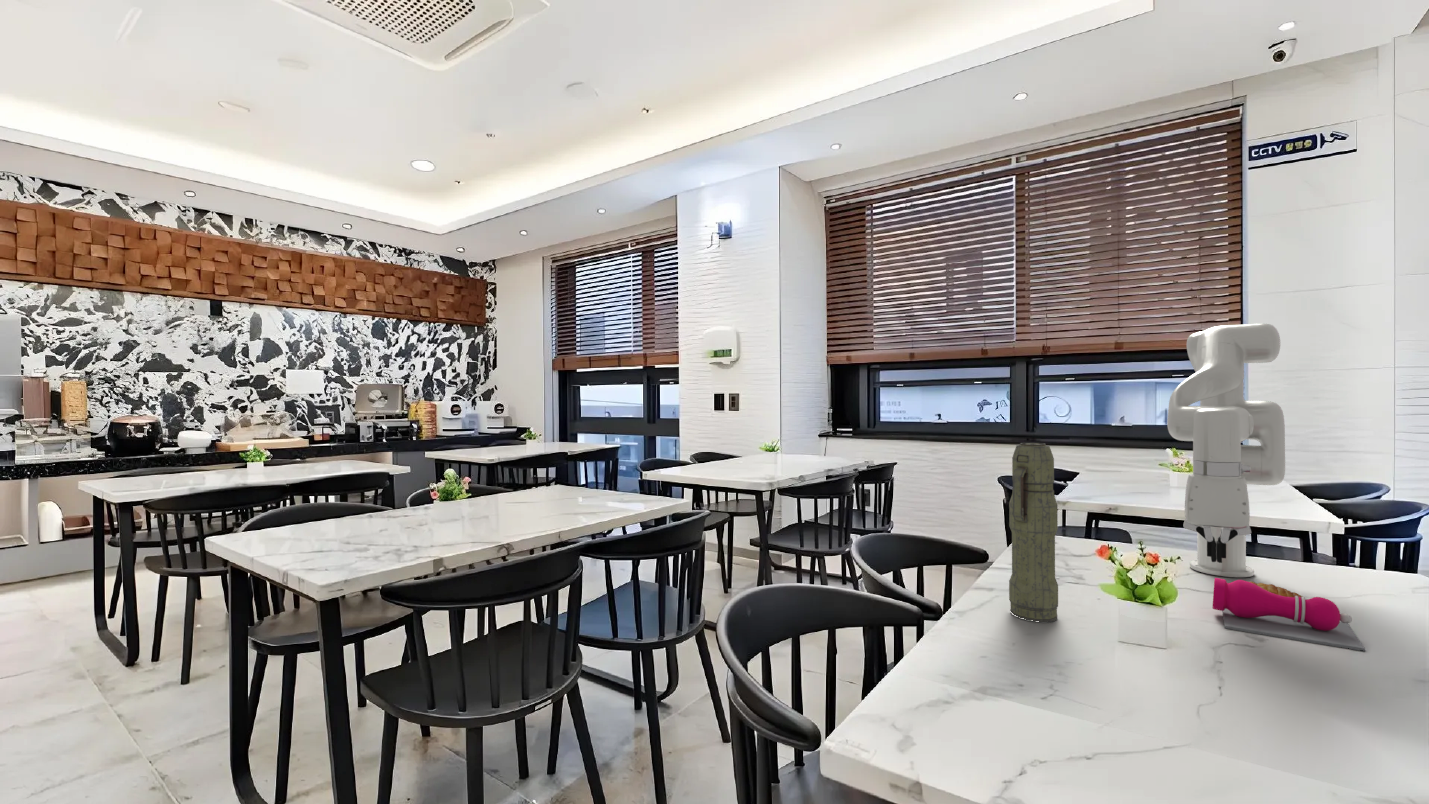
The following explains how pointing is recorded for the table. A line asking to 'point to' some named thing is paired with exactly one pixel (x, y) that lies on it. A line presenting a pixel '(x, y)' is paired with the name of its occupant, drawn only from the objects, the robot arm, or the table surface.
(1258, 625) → the mat
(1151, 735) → the table surface
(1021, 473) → the thermos
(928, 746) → the table surface
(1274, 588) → the pastry
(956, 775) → the table surface
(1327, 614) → the pepper mill
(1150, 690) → the table surface
